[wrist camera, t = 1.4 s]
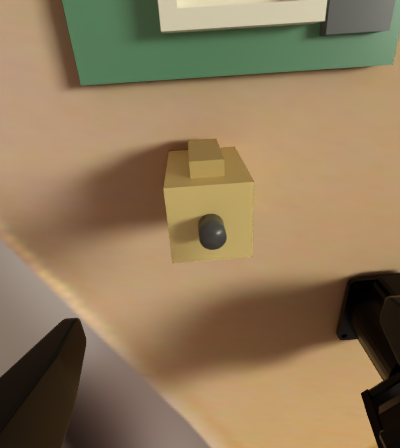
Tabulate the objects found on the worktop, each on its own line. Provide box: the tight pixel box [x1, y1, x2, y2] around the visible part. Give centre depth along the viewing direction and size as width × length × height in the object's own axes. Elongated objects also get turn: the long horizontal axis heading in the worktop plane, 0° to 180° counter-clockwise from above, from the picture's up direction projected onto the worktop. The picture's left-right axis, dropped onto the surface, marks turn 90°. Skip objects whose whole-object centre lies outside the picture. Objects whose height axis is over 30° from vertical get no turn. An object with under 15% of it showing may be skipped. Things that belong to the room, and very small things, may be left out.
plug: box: [163, 139, 254, 263], centre depth 16 cm, size 5×4×7 cm
